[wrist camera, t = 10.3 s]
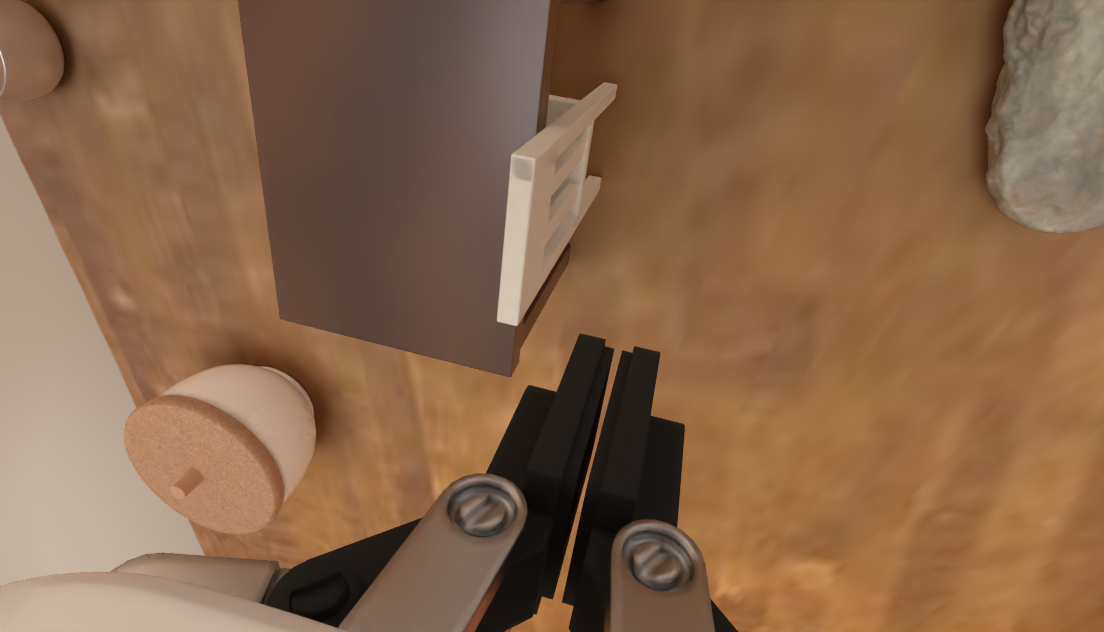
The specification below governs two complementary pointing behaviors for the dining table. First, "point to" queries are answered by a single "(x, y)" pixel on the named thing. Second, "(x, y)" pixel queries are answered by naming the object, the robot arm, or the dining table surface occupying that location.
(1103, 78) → the long grey stone
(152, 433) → the lidded bowl
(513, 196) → the chair
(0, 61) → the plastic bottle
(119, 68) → the dining table surface
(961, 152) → the dining table surface
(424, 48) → the toy table
